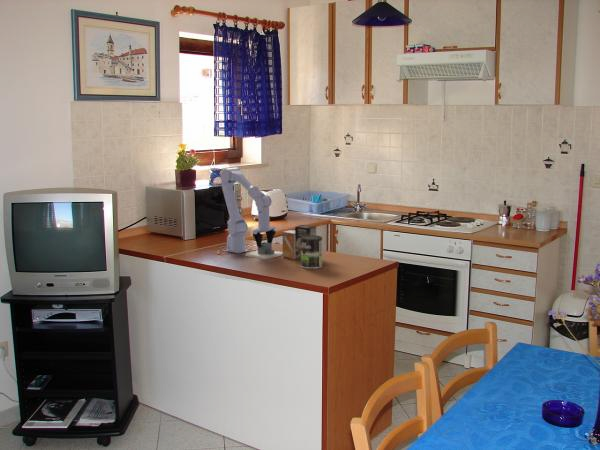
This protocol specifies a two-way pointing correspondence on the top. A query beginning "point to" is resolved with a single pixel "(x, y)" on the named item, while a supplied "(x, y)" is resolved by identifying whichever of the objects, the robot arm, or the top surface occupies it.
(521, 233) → the top surface
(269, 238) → the robot arm
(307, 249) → the coffee can
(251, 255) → the pin plate
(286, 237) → the small box
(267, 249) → the jaw block
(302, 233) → the coffee box
